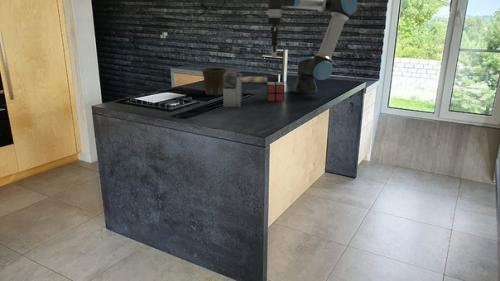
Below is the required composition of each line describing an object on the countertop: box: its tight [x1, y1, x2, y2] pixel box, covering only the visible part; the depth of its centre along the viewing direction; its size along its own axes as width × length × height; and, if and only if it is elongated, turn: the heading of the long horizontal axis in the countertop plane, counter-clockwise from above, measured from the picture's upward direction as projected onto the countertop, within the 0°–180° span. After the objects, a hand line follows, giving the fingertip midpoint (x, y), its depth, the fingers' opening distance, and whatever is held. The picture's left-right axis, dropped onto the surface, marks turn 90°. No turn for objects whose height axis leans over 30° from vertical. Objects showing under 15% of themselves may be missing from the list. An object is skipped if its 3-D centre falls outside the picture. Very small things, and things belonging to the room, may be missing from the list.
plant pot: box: [201, 67, 228, 96], centre depth 254 cm, size 16×16×16 cm
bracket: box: [222, 72, 243, 108], centre depth 227 cm, size 10×19×16 cm, turn 179°
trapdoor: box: [223, 72, 268, 86], centre depth 226 cm, size 24×16×6 cm, turn 89°
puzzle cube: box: [266, 81, 285, 102], centre depth 238 cm, size 10×10×10 cm
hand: (273, 56), depth 232 cm, fingers open, 10 cm apart
